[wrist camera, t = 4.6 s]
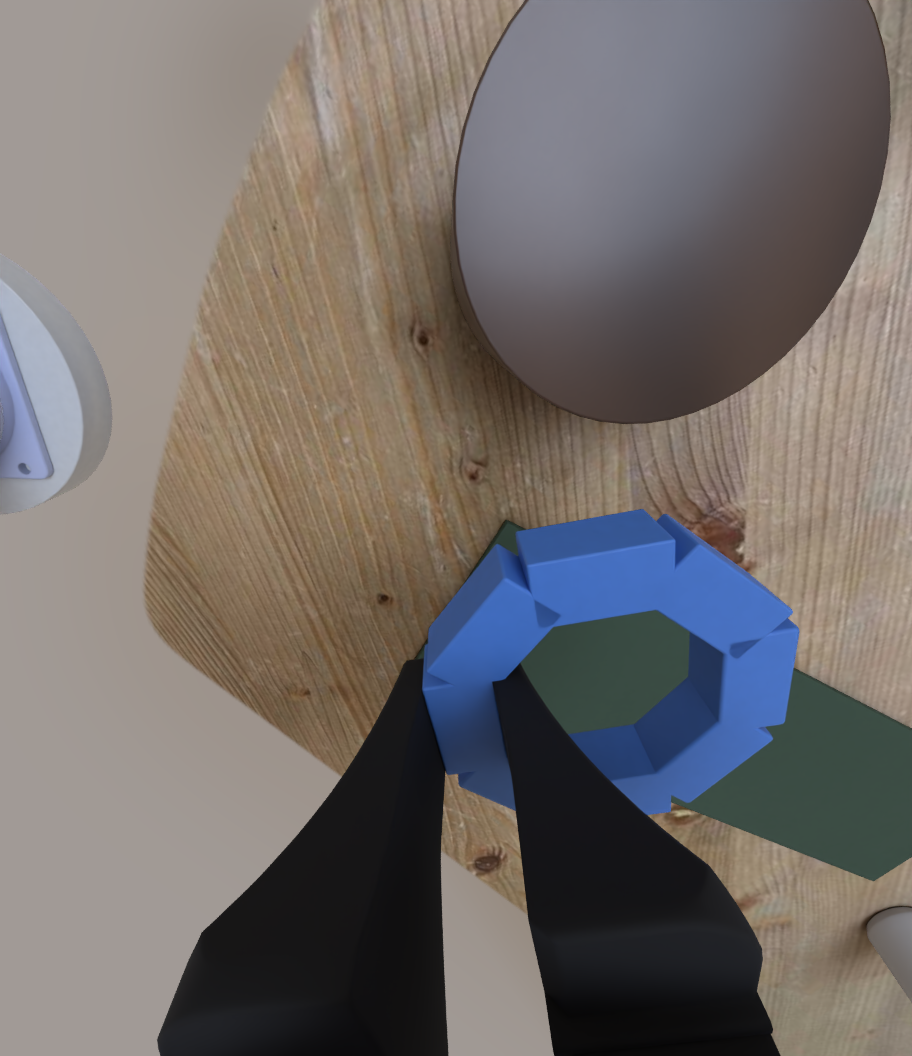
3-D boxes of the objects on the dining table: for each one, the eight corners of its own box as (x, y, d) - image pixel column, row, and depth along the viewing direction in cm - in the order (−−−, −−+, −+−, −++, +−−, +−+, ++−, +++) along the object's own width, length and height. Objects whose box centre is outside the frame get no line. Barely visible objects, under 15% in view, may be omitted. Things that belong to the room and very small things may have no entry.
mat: (395, 688, 26) (394, 694, 26) (506, 519, 22) (507, 522, 21) (869, 875, 35) (873, 881, 34) (1015, 781, 30) (1021, 787, 30)
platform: (445, 383, 19) (445, 417, 13) (455, 62, 15) (463, -130, 8) (682, 393, 19) (797, 430, 13) (756, 82, 15) (982, -89, 9)
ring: (463, 787, 14) (465, 841, 12) (398, 551, 10) (391, 589, 9) (738, 746, 13) (774, 797, 12) (766, 485, 10) (821, 514, 9)
